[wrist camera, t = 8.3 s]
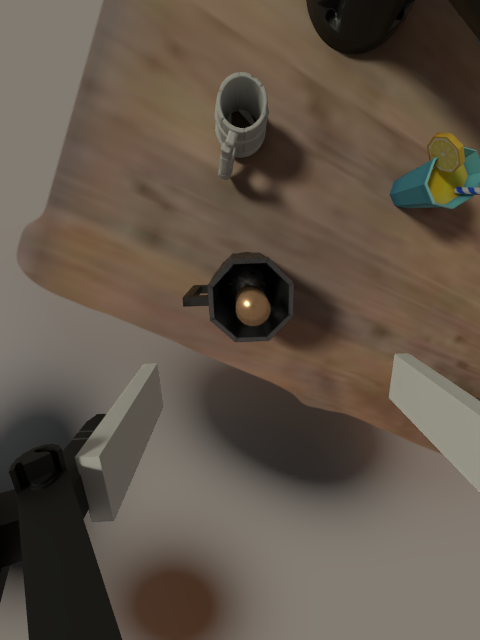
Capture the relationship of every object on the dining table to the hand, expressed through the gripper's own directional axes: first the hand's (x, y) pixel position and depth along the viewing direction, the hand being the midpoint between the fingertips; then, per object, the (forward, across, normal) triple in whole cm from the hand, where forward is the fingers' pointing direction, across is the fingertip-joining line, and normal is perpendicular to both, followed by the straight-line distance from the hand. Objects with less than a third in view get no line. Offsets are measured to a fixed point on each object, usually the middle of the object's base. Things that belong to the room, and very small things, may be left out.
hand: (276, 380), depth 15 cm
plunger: (+34, 0, 0) cm, 34 cm away
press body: (+36, -2, 0) cm, 36 cm away
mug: (+36, -1, +22) cm, 42 cm away
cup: (+36, +28, +14) cm, 48 cm away
